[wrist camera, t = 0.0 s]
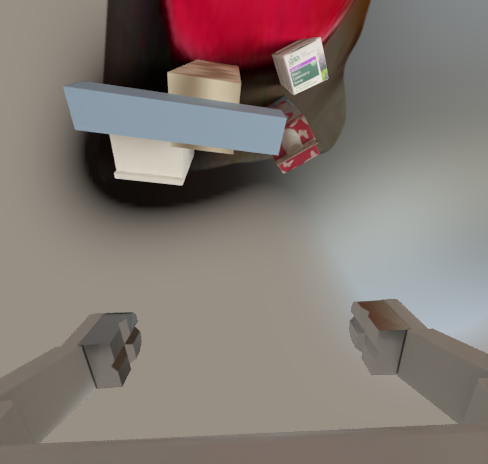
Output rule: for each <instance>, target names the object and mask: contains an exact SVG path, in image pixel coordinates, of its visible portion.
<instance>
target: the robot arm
mask: <svg viewBox="0 0 488 464" xmlns="http://www.w3.org/2000/svg"><path fill="white" fill-rule="evenodd" d="M351 312H352V313H353V315H354V317H353V318H352V319H351V320H350V325H349V330H350V336H351V339H352V342H353V344H354V346H355V347H356V348H357V349H358V350H360V351H361V352H362V360H363V361H364V363H365V365H366V366H367V368H368V370H369V372H370V373H371V375H394V374H398V376H399V377H400V378H401V379H402V380H403V381H405V382H406V383H407V384H408V385H410V386H411V387H412V388H414V389H415V390H416V391H417V392H419V393H420V394H421V395H422V396H424V397H425V398H426V399H428V400H429V401H430V402H431V403H433V404H434V405H435V406H437V407H438V408H439V409H441V410H442V411H443V412H444V413H445V414H447V415H448V416H449V417H450V418H452V419H453V420H454V421H456V422H457V423H458V424H450V425H428V426H407V427H384V428H365V429H364V428H363V429H342V430H321V431H301V432H282V433H281V432H279V433H258V434H237V435H215V436H193V437H172V438H150V439H129V440H110V441H109V440H107V441H86V442H67V443H66V442H64V443H44V444H39V443H40V442H41V441H42V440H43V439H44V438H45V437H46V436H48V434H50V433H51V432H52V431H53V430H54V429H55V428H56V427H57V426H58V425H59V424H60V423H62V422H63V421H64V420H65V419H66V418H67V417H68V416H69V415H70V414H71V413H72V412H74V411H75V410H76V409H77V408H78V407H79V406H80V405H81V404H82V403H83V402H84V401H85V400H87V399H88V398H89V397H90V396H91V395H92V394H93V393H94V392H95V391H96V389H100V388H112V387H122V386H123V384H124V382H125V380H126V378H127V376H128V374H129V372H130V370H131V367H130V363H131V362H132V361H133V360H135V359H136V358H137V356H138V354H139V352H140V347H141V333H140V331H139V330H138V329H137V328H136V327H135V325H136V323H137V322H138V321H137V317H136V314H135V313H133V312H125V313H95V314H91V315H89V316H88V317H87V318H86V320H85V321H84V322H83V323H82V324H81V325H80V326H79V327H78V328H77V329H76V331H75V332H74V333H73V334H72V335H71V336H70V337H69V338H68V339H67V340H66V341H65V343H64V344H63V345H62V346H61V347H55V348H53V349H51V350H50V351H48V352H46V353H44V354H43V355H41V356H39V357H37V358H35V359H34V360H32V361H30V362H28V363H26V364H25V365H23V366H21V367H19V368H17V369H16V370H14V371H12V372H10V373H9V374H7V375H5V376H3V377H2V378H0V464H488V354H487V353H485V352H483V351H480V350H478V349H476V348H474V347H472V346H469V345H467V344H465V343H463V342H460V341H458V340H456V339H454V338H452V337H450V336H447V335H445V334H443V333H441V332H439V331H436V330H434V329H428V328H427V327H425V325H423V324H422V323H421V322H420V321H419V320H418V319H417V318H416V317H415V316H414V315H413V314H412V313H411V312H410V311H409V310H408V309H407V308H406V307H405V306H403V305H402V303H401V302H399V301H398V300H396V299H387V300H379V301H360V302H353V304H352V308H351Z"/></svg>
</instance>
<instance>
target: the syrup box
mask: <svg viewBox="0 0 488 464" xmlns="http://www.w3.org/2000/svg"><path fill="white" fill-rule="evenodd" d="M272 57H273V61H274V64H275V67H276V71H277V74H278V77H279V80H280V84H281V85H282V86H284V87H285V88H286V89H287V90H288V91H289V92H291V93H292V94H293V95H295V94H297V93H299V92H302V91H304V90H306V89H308V88H310V87H312V86H314V85H316V84H318V83H320V82H322V81H325V80H327V79H328V73H327V68H326V61H325V56H324V51H323V47H322V42H321V37H316V38H309V39H300V40H297V41H295V42H294V43H292V44H290V45H288V46H286V47H284V48H282V49H281V50H279V51H277V52H275V53H273V54H272Z"/></svg>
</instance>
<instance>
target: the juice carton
mask: <svg viewBox="0 0 488 464" xmlns="http://www.w3.org/2000/svg"><path fill="white" fill-rule="evenodd" d="M266 108H271V109H278V110H281V111H282V112H283V113H284V115H285V116H286V118H287V119H286V124H285V128H284V133H283V137H282V141H281V146H280V150H279V155H272V156H273V158H274V159H275V161H276V164H277V166H279V168H280V169H281V171H282V173H283V174H284V173H286V172H288V171H290V170H291V169H293V168H295V167H297V166H299V165H301V164H302V163H304V162H306V161H308V160H310V159H312V158H313V157H315V156H317V155H319V154H320V153H319V151H318V148H317V146H316V144H318V142H317V140H316V139H315V137H314V135H313V133H312V131H311V129H310V127H309V125H308V123H307V121H306V119H305V117H304V116H303V115H302V114H301V112H300V111H299V110H298V109H297V108H296V107H295V106H294V105H293V104H292V103H291V102H290V101H289V100H288V99H287V98H286V97H285V96H283V97H281V98H280V99H278V100H277V101H275V102H274V103H272V104H270V105H269V106H267V107H266Z"/></svg>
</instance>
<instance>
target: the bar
mask: <svg viewBox="0 0 488 464" xmlns="http://www.w3.org/2000/svg"><path fill="white" fill-rule="evenodd" d="M63 89H64V93H65V97H66V100H67V103H68V107H69V111H70V114H71V118H72V121H73V125H74V128H75V130H80V131H88V132H96V133H104V134H112V135H120V136H128V137H136V138H144V139H152V140H160V141H168V142H176V143H184V144H192V145H200V146H208V147H216V148H224V149H232V150H240V151H247V152H255V153H263V154H271V155H279V150H280V146H281V141H282V137H283V133H284V128H285V124H286V119H287V118H286V116H285V115H284V113H283V112H282V111H281V110H278V109H271V108H265V107H258V106H251V105H244V104H237V103H230V102H224V101H217V100H210V99H203V98H196V97H189V96H183V95H176V94H169V93H162V92H155V91H148V90H142V89H135V88H128V87H121V86H114V85H107V84H100V83H94V82H87V81H82V82H77V83H74V84H69V85H65V86H63Z"/></svg>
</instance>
